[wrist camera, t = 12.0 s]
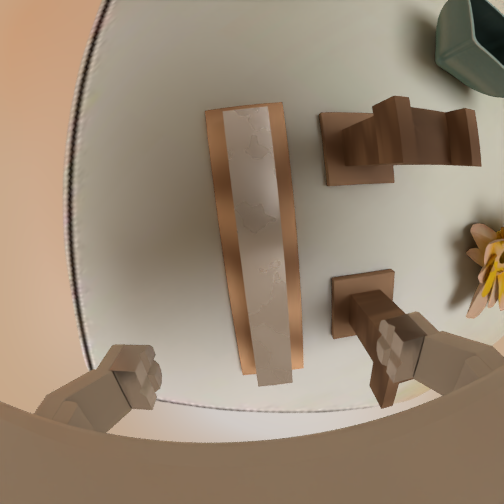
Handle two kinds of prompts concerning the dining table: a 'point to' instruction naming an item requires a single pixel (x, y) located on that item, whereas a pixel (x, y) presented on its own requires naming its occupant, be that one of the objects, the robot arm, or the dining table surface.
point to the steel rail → (260, 240)
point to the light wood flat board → (231, 237)
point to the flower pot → (472, 44)
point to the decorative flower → (487, 268)
